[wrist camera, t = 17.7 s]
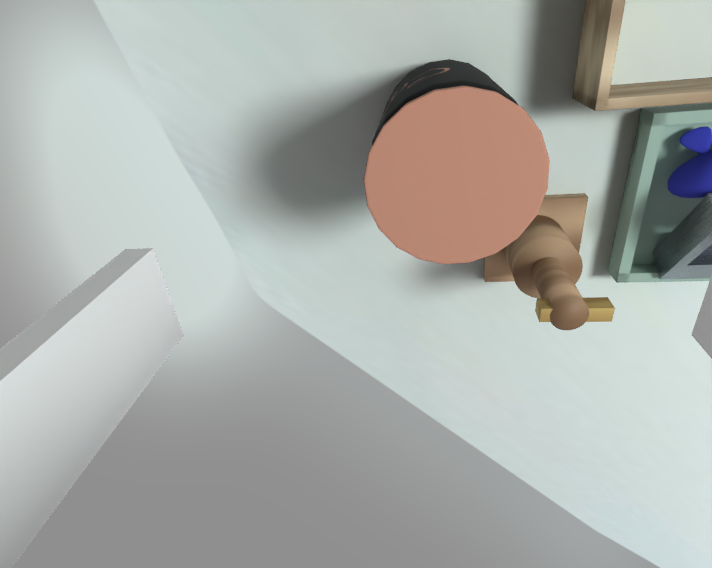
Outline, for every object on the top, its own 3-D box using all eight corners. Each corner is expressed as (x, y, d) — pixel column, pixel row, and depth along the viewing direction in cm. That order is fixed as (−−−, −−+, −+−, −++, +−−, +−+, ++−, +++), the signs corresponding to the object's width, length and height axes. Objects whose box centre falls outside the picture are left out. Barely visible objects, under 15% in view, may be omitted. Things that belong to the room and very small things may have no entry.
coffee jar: (437, 29, 38) (448, 39, 23) (527, 112, 41) (592, 171, 25) (361, 132, 43) (328, 197, 28) (445, 200, 46) (458, 294, 30)
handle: (488, 198, 45) (512, 264, 33) (584, 193, 44) (647, 261, 32) (483, 277, 49) (503, 360, 37) (571, 275, 48) (621, 361, 36)
